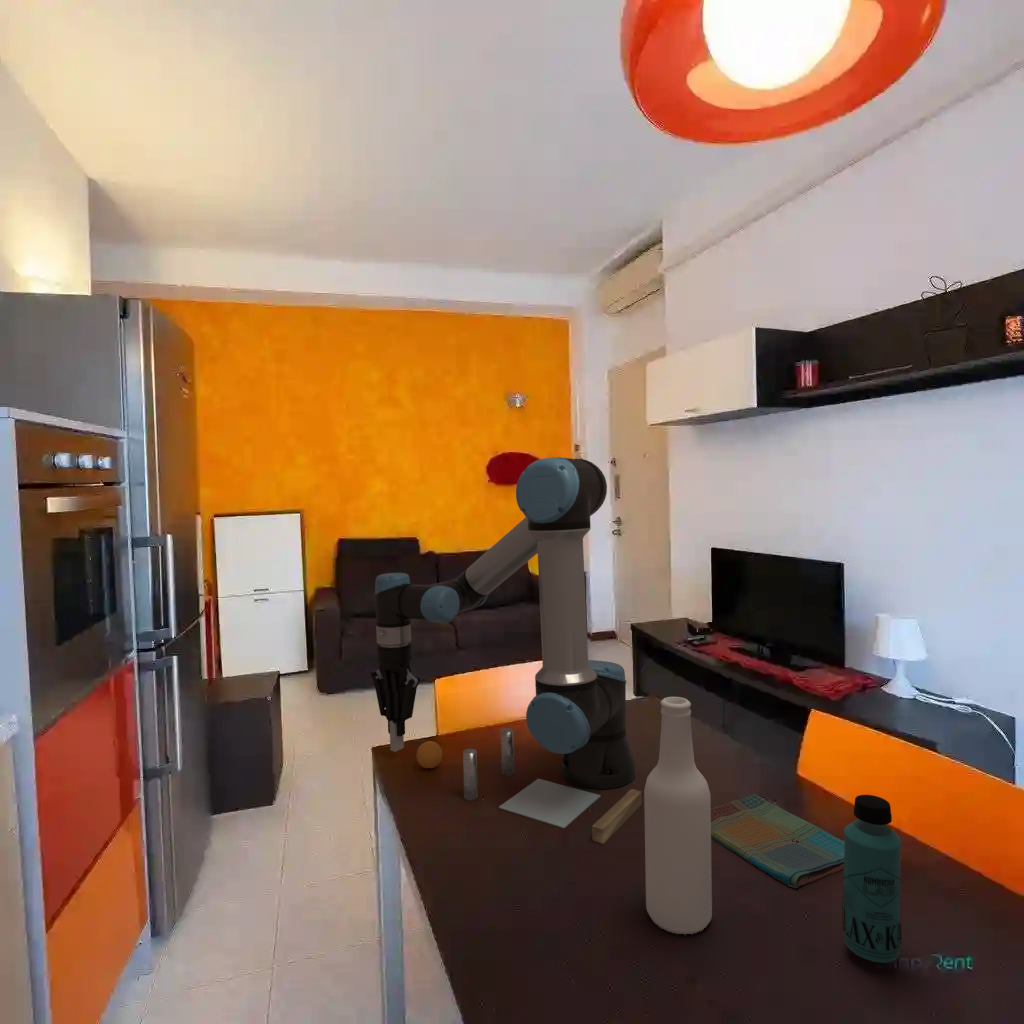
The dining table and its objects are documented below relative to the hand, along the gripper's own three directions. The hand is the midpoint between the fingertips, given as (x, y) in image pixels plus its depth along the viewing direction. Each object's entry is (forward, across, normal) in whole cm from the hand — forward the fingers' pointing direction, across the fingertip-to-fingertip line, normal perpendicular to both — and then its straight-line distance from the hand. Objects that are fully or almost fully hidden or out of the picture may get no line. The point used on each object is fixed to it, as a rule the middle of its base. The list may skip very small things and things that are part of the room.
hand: (397, 748), depth 147 cm
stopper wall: (+2, +54, 0) cm, 54 cm away
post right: (+2, +26, +6) cm, 26 cm away
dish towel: (+3, +78, +8) cm, 78 cm away
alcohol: (+2, +72, -19) cm, 74 cm away
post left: (+2, +26, -6) cm, 26 cm away
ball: (-1, +10, 0) cm, 10 cm away
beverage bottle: (+2, +94, -14) cm, 96 cm away
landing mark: (+2, +40, 0) cm, 40 cm away
